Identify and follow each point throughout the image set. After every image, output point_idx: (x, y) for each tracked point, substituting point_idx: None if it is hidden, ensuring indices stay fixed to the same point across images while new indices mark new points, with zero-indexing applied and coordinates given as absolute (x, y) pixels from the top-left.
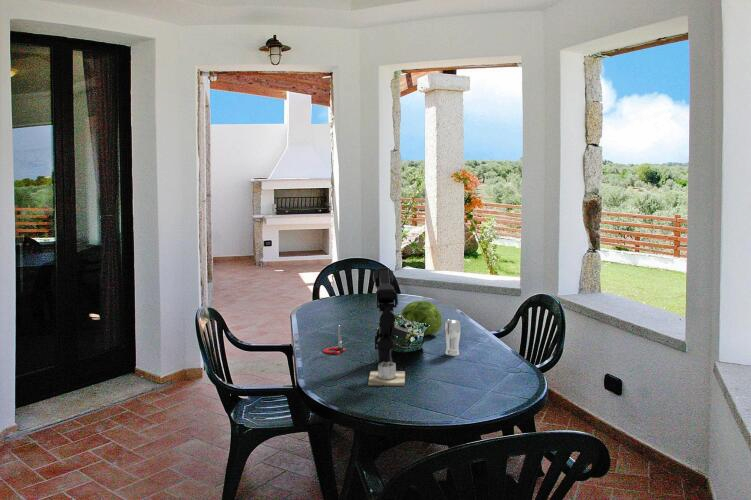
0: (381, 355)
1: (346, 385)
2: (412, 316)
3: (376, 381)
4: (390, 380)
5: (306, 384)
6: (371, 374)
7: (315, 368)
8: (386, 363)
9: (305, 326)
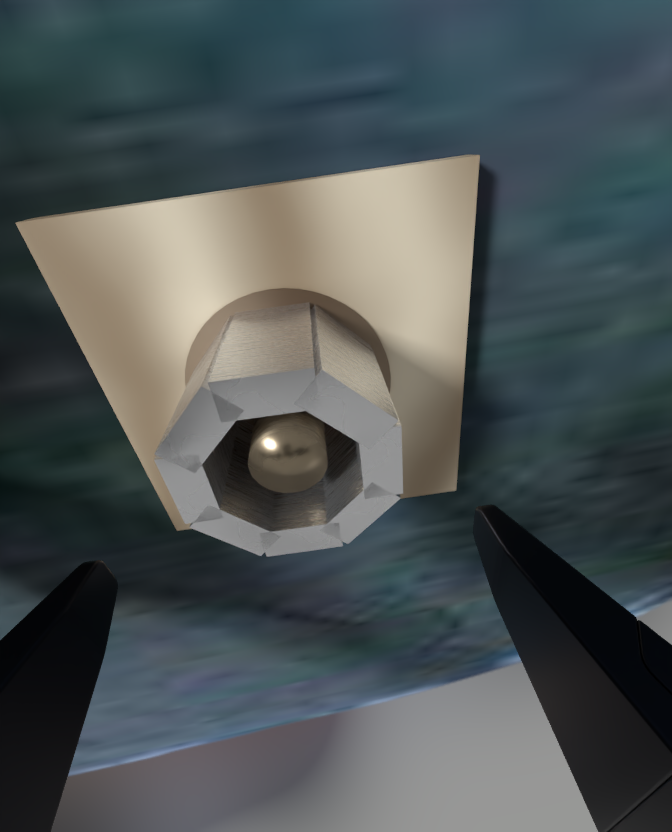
0: None
1: (446, 572)
2: None
3: (423, 446)
4: (391, 339)
5: (430, 683)
6: None
7: (205, 713)
8: (215, 486)
9: None
